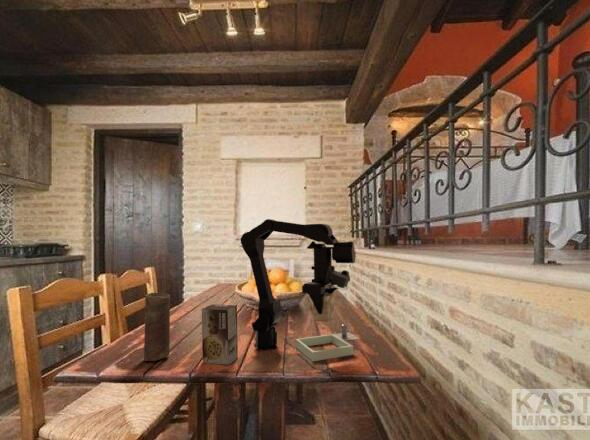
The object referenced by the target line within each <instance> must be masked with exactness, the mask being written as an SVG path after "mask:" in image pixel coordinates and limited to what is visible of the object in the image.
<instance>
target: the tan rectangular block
mask: <svg viewBox="0 0 590 440" xmlns="http://www.w3.org/2000/svg"><path fill="white" fill-rule="evenodd" d="M312 309H313V310H312V313H313V314H312V315H313V316H312V317H313V322H321V323H330V322H331V321H333V320H335V295H334V293H333V294H330V293H327V294H326V295H325V296H324V300H323V310H322V314H318V312H317V310H316V308H315V306H314V303H313V302H312Z"/></svg>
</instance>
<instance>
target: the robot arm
mask: <svg viewBox="0 0 590 440" xmlns="http://www.w3.org/2000/svg"><path fill="white" fill-rule="evenodd" d="M274 232H277V233H285V234H290V235H297V236H302V237H304V238H307V239H309V240H312V241H311V243H310V244H309V245H308V246H306V248H307V249H309V250H313V265H312V266H311V270H313V278H312V279H311V281H308V282H305V283H304V284H303V285H302V286H301V292H302V294H307V295H308V296H309V298H310V300H311V301H312V304H313V303H314V306H315V308H316V310H317V312H318V314H322V310H323V300H324V296H325V295H326V294H327V293H330V294H334V293H335V292H336V291H337V290H338V289H339V288H341V289H344V288H346V287H348V285H349V282H350V281H351V276H350V272H349V270H345V269H344V270H342V271H337V270H336V268H335V266H334V265H333V264H332V260H333V261H335V263H336V264H355V263H356V250H355V246H354V243H355V242H354V241H347V242H346V241H344V242H343V241H339V240H338V239H337V238H336V237H335V235H334V234H333V233H334V232H333V228H332V227H331V226H330V225H329V224H325V223H310V224H302V223H294V222H287V221H281V220H275V219H270V218H267V219H265V220H264V221H262V222H261V223H260V224H259V225H257V226H255V227H254V228H252V229H251V230H249V231H246V232H244V233H243V234H242V236H241V237H240V243H241V247H242V250H243V251H244V252H245V254H246V256H247V257H248V258H249V260H250V265H251V270H252V274H253V278H254V282H255V287H256V290H257V295H258V308H257V315H258V318H256V320H254V322H253V323H252V324H251V327H252V331H254V335H255V338H254V339H255V342H254V343H253V346H255V348H256V349H257V350H258V351H265V350H271V349H277V348H278V332H277V331H276V326H277V324H278V322H279V320H281V318H282V316H283V311H284V309H283V308H282V305H281V304H282V303H281V299H276V297H275V296H274V295H273V292H272V286H271V283H270V279H269V274H268V270H267V266H266V261H265V257H264V252H265V240H267V239H268V238H269V237H270V236H271V235H272V233H274ZM317 242H318V243H317ZM321 242H322V243H321ZM335 286H337V287H335ZM338 287H339V288H338Z"/></svg>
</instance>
